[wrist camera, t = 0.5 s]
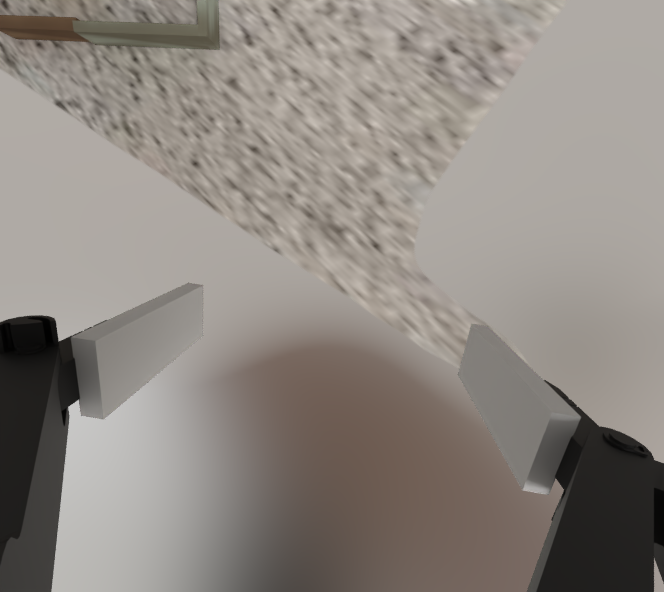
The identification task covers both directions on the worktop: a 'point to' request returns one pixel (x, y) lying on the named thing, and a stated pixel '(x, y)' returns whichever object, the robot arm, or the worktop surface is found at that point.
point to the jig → (120, 30)
